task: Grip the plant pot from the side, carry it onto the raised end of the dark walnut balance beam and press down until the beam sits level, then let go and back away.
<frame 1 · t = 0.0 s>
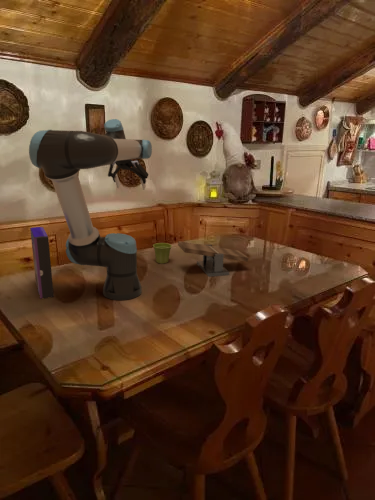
hand: (131, 187, 180), 36 cm above the table, tool tilted 35°, fingers open, 13 cm apart
balance beam: (213, 251, 170), point 9 cm above the table, hinge at -12.0°
plant pot: (162, 262, 181), on the table
beam stand: (212, 269, 172), on the table
cereal box: (44, 290, 144), on the table
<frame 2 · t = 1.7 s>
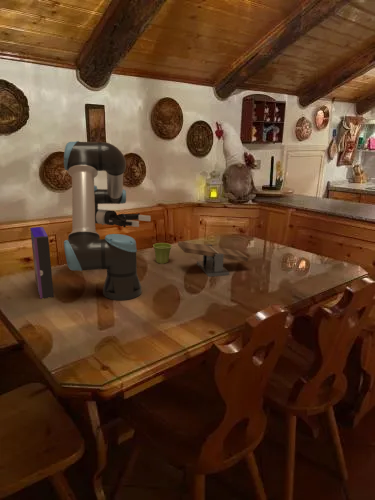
hand: (144, 221, 178), 20 cm above the table, tool horizontal, fingers open, 13 cm apart
nothing on the table moved.
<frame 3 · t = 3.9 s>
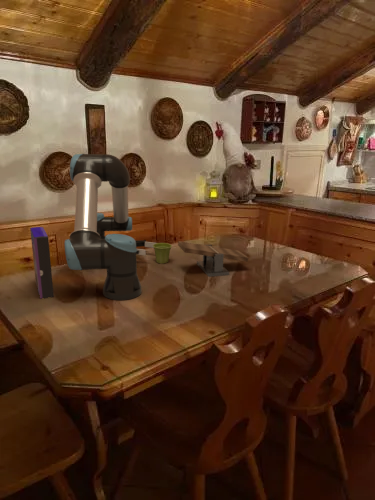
hand: (151, 249, 182), 6 cm above the table, tool horizontal, fingers open, 13 cm apart
nothing on the table moved.
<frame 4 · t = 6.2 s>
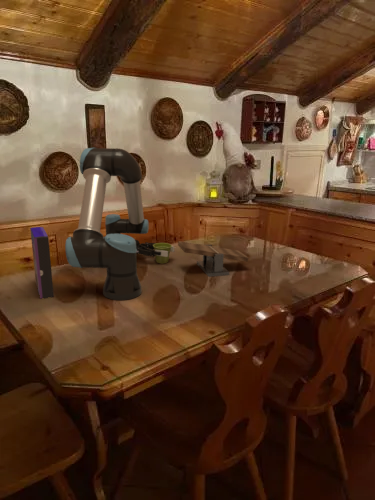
hand: (171, 251, 178), 6 cm above the table, tool horizontal, fingers closed on plant pot, 8 cm apart
plant pot: (162, 262, 181), on the table, touching gripper
everything else where it was.
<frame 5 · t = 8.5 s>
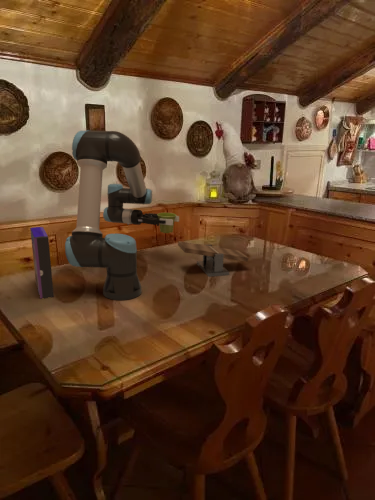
hand: (175, 220, 173), 22 cm above the table, tool horizontal, fingers closed on plant pot, 8 cm apart
plant pot: (166, 232, 176), point 16 cm above the table, touching gripper
everything else where it was.
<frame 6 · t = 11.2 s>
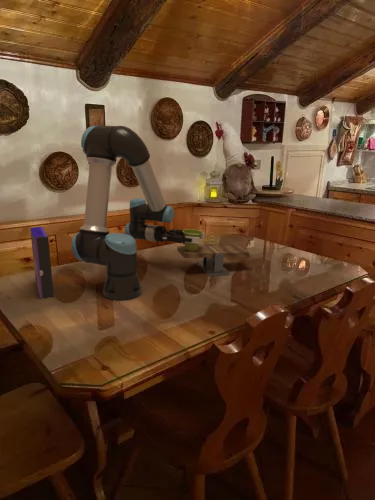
hand: (202, 238, 163), 17 cm above the table, tool horizontal, fingers closed on plant pot, 8 cm apart
balance beam: (213, 251, 170), point 9 cm above the table, hinge at -2.6°, touching plant pot
plant pot: (191, 250, 166), point 10 cm above the table, touching balance beam, gripper
everything else where it was.
when the fingers open (17 cm above the table, at t = 11.2 s): plant pot stays where it is, resting on balance beam.
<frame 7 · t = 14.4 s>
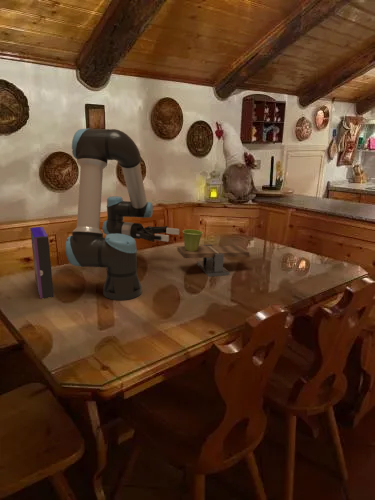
hand: (174, 235, 167), 17 cm above the table, tool horizontal, fingers open, 13 cm apart
plant pot: (191, 250, 166), point 10 cm above the table, touching balance beam
everything else where it was.
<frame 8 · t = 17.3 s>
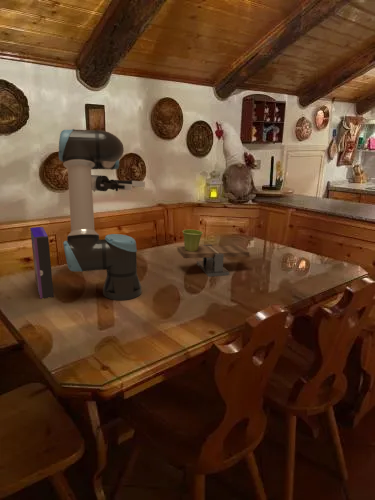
hand: (138, 185, 169), 38 cm above the table, tool horizontal, fingers open, 13 cm apart
nothing on the table moved.
at the end: balance beam at -2° (first picture: -12°); plant pot inside the target area on the balance beam (0.3 cm from its centre), point 1.2 cm above the balance beam's base; plant pot tilted 2° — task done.
